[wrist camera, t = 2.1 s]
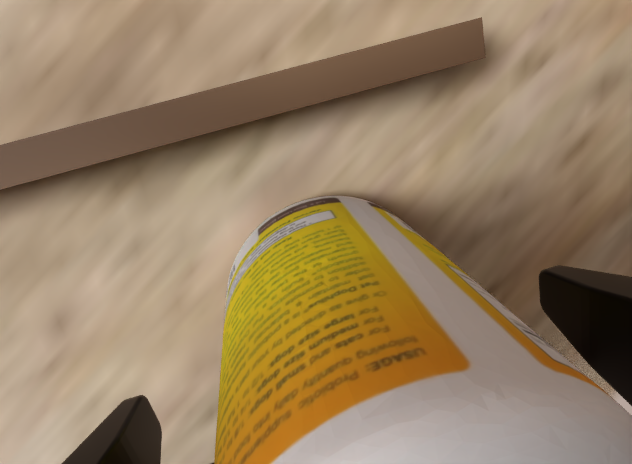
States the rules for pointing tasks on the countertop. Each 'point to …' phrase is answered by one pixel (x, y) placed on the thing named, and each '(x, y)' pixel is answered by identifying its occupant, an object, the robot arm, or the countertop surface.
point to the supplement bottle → (390, 356)
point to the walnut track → (238, 103)
